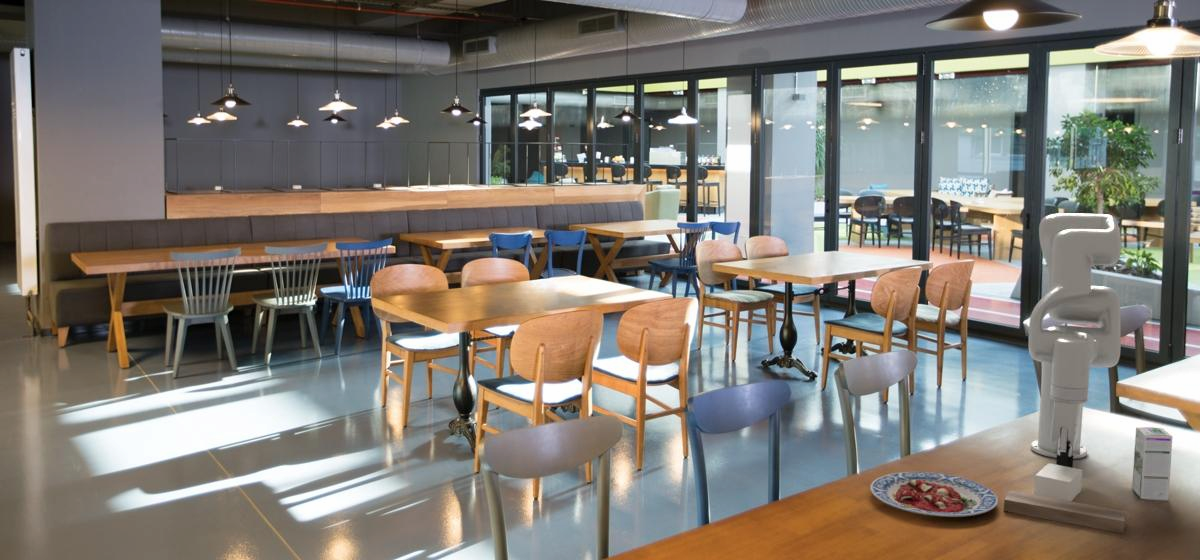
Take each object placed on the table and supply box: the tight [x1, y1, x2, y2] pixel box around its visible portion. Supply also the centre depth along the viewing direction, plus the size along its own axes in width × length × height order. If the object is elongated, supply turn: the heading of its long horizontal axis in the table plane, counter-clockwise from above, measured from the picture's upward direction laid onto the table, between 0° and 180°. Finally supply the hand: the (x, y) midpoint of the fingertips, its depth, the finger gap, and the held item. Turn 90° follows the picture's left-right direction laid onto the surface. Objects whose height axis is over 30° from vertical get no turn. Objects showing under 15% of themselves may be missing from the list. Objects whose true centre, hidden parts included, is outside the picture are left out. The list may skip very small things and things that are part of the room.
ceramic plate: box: [870, 471, 999, 518], centre depth 206 cm, size 26×26×3 cm
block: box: [1033, 462, 1083, 502], centre depth 210 cm, size 10×7×5 cm
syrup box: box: [1132, 426, 1173, 501], centre depth 207 cm, size 6×6×14 cm
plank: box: [1003, 490, 1128, 534], centre depth 197 cm, size 6×22×2 cm, turn 57°
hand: (1064, 471), depth 217 cm, fingers closed
